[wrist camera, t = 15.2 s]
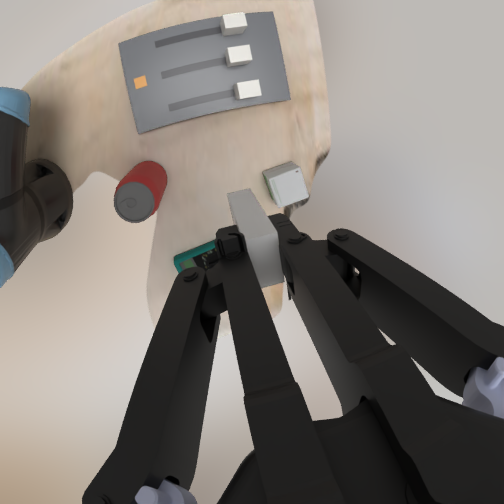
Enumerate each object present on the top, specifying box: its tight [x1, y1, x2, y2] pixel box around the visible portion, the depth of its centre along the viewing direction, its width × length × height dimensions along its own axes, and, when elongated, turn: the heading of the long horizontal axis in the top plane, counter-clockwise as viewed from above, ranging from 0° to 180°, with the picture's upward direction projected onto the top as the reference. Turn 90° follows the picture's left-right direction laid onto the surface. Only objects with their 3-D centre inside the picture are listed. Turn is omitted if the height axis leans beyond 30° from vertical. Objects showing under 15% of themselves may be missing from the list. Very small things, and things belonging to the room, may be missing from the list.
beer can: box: [114, 161, 167, 223], centre depth 37 cm, size 7×7×12 cm
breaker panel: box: [119, 12, 291, 134], centre depth 32 cm, size 24×16×7 cm, turn 100°
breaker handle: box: [225, 45, 252, 67], centre depth 31 cm, size 3×2×4 cm
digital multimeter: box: [174, 240, 219, 273], centre depth 51 cm, size 7×15×3 cm, turn 110°
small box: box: [263, 161, 309, 208], centre depth 45 cm, size 6×6×5 cm
